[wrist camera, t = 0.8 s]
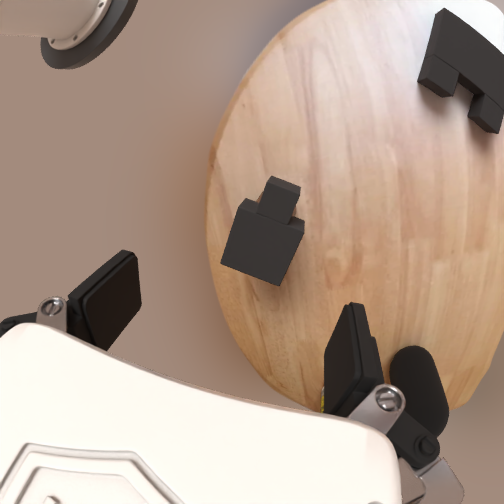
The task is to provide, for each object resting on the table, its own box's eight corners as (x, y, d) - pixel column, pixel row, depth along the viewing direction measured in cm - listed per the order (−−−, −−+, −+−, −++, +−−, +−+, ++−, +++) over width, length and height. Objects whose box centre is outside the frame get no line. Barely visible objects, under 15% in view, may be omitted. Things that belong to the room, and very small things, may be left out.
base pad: (416, 81, 19) (426, 78, 17) (435, 14, 14) (444, 7, 12) (486, 132, 19) (498, 134, 16) (501, 65, 14) (513, 63, 12)
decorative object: (376, 359, 34) (389, 451, 21) (407, 329, 31) (436, 423, 18) (405, 371, 34) (421, 454, 21) (434, 343, 31) (463, 428, 18)
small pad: (282, 271, 24) (279, 287, 21) (228, 250, 24) (219, 263, 22) (316, 193, 20) (318, 201, 18) (255, 169, 20) (248, 175, 18)
